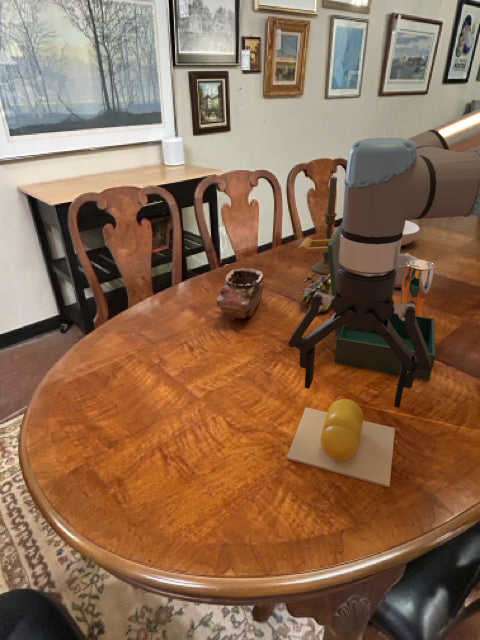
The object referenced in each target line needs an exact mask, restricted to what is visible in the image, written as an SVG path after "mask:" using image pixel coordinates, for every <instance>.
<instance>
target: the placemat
mask: <svg viewBox="0 0 480 640" xmlns="http://www.w3.org/2000/svg"><path fill="white" fill-rule="evenodd" d="M327 413H328V411H324V410H320V409H315V408H311V407H307V406H305V408H304V409H303V413H302V416H301V419H300V421H299V424H298V426H297V429H296V432H295V435H294V437H293V440H292V442H291V445H290V448H289V450H288V452H287V455H286V460H288V461H292V462H296V463H300V464H303V465H306V466H309V467H310V466H311V467H314V468H317V469H320V470H324V471H327V472H332V473H335V474H339V475H342V476H346V477H348V478H349V477H350V478H353V479H356V480H360V481H364V482H367V483H371V484H374V485H378V486H382V487H385V488H390V485H391V475H392V466H393V465H392V464H393V454H394V445H395V444H394V443H395V434H396V433H395V432H396V427H392V426H388V425H384V424H380V423H375V422H371V421H366V420H363V425H362V430H361V435H360V441H359V446H358V449H357V451H356V453H355V454H354V455H353V456H352V457H351V458H349V459H346V460H335V459H332V458H331V457H329V456H328V455H327V454H326V453H325V452H324V450H323V448H322V446H321V441H320V439H321V433H322V430H323V426H324V423H325V420H326V417H327Z"/></svg>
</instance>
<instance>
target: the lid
mask: <svg viewBox="0 0 480 640" xmlns="http://www.w3.org/2000/svg"><path fill="white" fill-rule="evenodd" d="M341 231H342V222H341V223H340V225H339V226H338V228H337V230H336V231H335V232H334V234H333V236H332V237H331V239H327V240H326V239H314V240H313V238H311V237H306V238H305V239H304V240H303V241H302V243H301V244H300V245H299V246H298V248H297V253H298V254H299V255H301V256H306V255H307V253H308V252H309V253H310V252H311V253H312V252H322V251H328V254H329V266H330V278H329V279H330V280H331V287H330V290H331V295H332V296H334V295H335V294H336V284H337V273H338V267H339V265H341V264H340V263H339V250H340V238H341ZM326 243H329V244H328V247H325V246H315V247H314V246H313V245H322V244H323V245H324V244H325V245H326ZM334 313H336V312H335V311H334V309H333V308H332V315H333V314H334ZM342 327H343V325H342V326H341V327H339V328H338V329H337V330H334V337H336V338H337V337H339V335H340V332H341V329H342Z"/></svg>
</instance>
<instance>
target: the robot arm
mask: <svg viewBox="0 0 480 640" xmlns="http://www.w3.org/2000/svg"><path fill="white" fill-rule="evenodd" d="M477 215H480V108H478V109H476V110H474V111H471V112H469V113H467V114H464V115H462V116H460V117H457V118H455V119H452V120H450V121H447V122H445V123H443V124H441V125H438V126H436V127H433V128H431V129H428V130H426V131H423V132H420V133H418V134H416V135H414V136H410V137H408V138H401V137H371V138H370V137H369V138H363V139H359V140H357V141H355V142H354V143H353V144H352V145H351V147H350V149H349V153H348V159H347V164H346V171H345V177H344V195H343V209H342V222H341V223H342V231H341V238H340V250H339V263H340V264H341V265H339V267H338V273H337V284H336V294H335V295H334V296H332V294H329V293H328V294H329V295H328V294H324V292H323V290H321V289H319V290H317V291H316V293H315V295H314V297H313V299H312V300H311V301H312V303H311V307H310V309H309V308H308V310H307V312H306V313H305V315H304V317H303V318H302V319H301V321H300V322H299V324H298V326H297V327H296V328H295V330H294V332H293V333H292V335H291V336H290V339H289V341H288V343H287V344H288V346H289V347H290V348H296V349H298V350H299V367H300V368H301V369H305V374H304V389H306V390H310V388H311V385H312V383H313V380H314V371H315V356H316V345H317V344H318V343H320V342H321V341H322V340H325V338H326V337H328V336H329V335H330V334H331V333H333V332H335V330H337V329H338V328H339V327H341V326H342V325H343V324H344V325H345V326H347V327H348V328H349V329H361V330H364V331H368V332H370V330H374V329H375V330H376V331H377V333H378V334H379V335H380V337H382V338H383V339H384V340H385V341H386V342H387V344H388V345H389V346H390V348H391V349H392V350H393V352H394V353H395V354H396V356H397V357H398V358H399V360H400V361H401V362H402V363H401V368H400V373H399V375H398V378H397V379H398V380H397V383H396V384H397V385H396V389H395V395H394V402H393V403H394V405H393V407H394V408H398V409H400V408H401V402H402V397H403V392H404V388H405V389H411V388H412V387H413V384H414V380H415V378H414V376H415V374H416V371H417V370H420V369H423V370H424V371H428V370H430V369H431V357H430V354H429V351H428V349H427V346H426V343H425V341H424V338H423V336H422V333H421V330H420V328H419V325H418V322H417V320H416V317H415V308H416V304H415V302H413V301H409V302H407V303H406V304H401V303H395V302H394V298H393V297H394V293H395V292H394V291H395V287H394V286H395V280H396V273H397V272H396V270H395V268H396V267H397V266H398V260H399V254H401V247H402V246H401V243H402V236H403V230H404V226H405V221H411V220H412V221H414V220H426V219H427V220H428V219H441V218H442V219H443V218H457V217H459V218H460V217H463V218H468V217H471V216H477ZM329 304H330V306H331V308H332V310H333V309H334V311H335V312H336V313H334V314H333V313H332V316H331V317H329V318H328V319H327V320H325V321H324V322H323V323H322V324H321V325H320V326H318V327H317V328H315V330H313V331H312V332H311V333H310V334H308V335H307V336H305V337H303V335H304V334H305V333H306V332H307V330H308V328H309V327H310V326H311V324H312V322H313V321H314V320H315V318H316V317H317V315H318V314H319V313H318V311H319V309H324V308H325V307H326V306H327V305H329ZM317 313H318V314H317ZM393 313H396V314H398V316H399V318H400V319H401V320H402V321H405V326H406V330H407V332H408V335H409V337H410V340H411V342H412V345H413V347H414V350H415V352H416V355H417V357H415V356H414V355H413V353H412V352H411V351H410V349H409V348H408V347H407V345H406V344H405V343H404V341H403V340H402V339H401V337H400V336H399V335H398V333H397V332H396V331H395V329H394V328H393V327H392V325H391V322H390V320H389V319H388V318H389V317H391V316H392V315H393Z"/></svg>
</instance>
